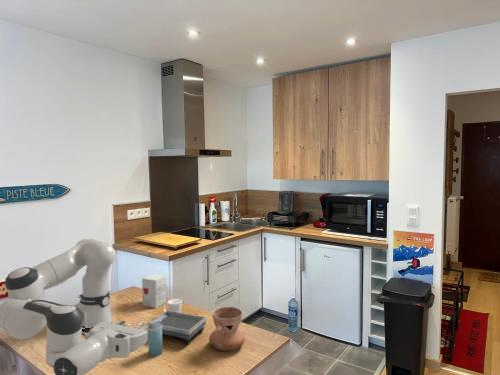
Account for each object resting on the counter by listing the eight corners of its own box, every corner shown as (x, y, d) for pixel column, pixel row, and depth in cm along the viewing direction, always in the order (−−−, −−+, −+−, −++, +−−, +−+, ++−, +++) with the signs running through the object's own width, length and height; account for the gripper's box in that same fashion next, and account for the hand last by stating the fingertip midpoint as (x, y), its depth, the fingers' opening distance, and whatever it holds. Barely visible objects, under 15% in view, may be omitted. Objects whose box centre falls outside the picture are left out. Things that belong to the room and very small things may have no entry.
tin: (145, 355, 136) (145, 327, 136) (154, 348, 141) (153, 322, 141) (157, 357, 135) (156, 330, 134) (165, 350, 139) (164, 324, 139)
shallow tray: (148, 337, 150) (148, 323, 149) (167, 323, 163) (167, 310, 162) (189, 346, 143) (189, 331, 142) (205, 331, 156) (205, 317, 155)
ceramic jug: (234, 360, 133) (234, 323, 132) (201, 351, 139) (201, 316, 138) (251, 339, 150) (252, 306, 149) (221, 332, 155) (222, 301, 154)
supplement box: (141, 305, 183) (141, 278, 182) (152, 299, 192) (152, 273, 191) (156, 308, 180) (155, 280, 179) (166, 302, 188) (166, 275, 187)
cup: (177, 321, 165) (177, 305, 165) (159, 318, 169) (159, 302, 168) (185, 315, 172) (185, 299, 171) (168, 312, 175) (167, 297, 175)
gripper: (81, 346, 116) (111, 328, 129) (130, 358, 109) (157, 338, 122) (80, 328, 116) (111, 311, 129) (130, 339, 109) (157, 320, 121)
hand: (134, 324), depth 125 cm, fingers open, 8 cm apart
